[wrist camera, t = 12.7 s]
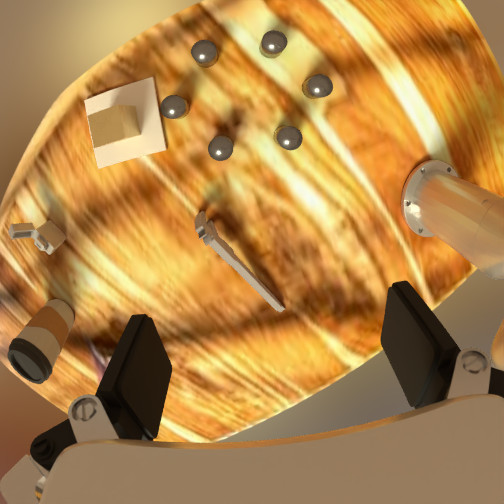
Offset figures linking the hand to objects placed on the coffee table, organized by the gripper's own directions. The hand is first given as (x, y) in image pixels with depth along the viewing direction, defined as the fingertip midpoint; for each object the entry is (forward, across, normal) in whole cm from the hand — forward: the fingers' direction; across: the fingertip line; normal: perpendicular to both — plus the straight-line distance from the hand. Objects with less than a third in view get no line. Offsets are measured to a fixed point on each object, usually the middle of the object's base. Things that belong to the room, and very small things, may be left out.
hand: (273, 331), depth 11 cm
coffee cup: (+28, +38, +17) cm, 50 cm away
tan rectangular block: (+28, +15, -10) cm, 33 cm away
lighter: (+28, +32, +1) cm, 43 cm away
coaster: (+28, +16, -11) cm, 34 cm away
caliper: (+30, +3, +12) cm, 32 cm away
